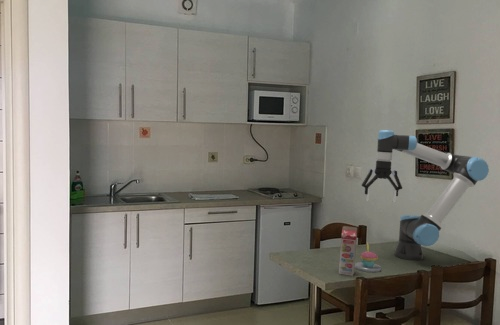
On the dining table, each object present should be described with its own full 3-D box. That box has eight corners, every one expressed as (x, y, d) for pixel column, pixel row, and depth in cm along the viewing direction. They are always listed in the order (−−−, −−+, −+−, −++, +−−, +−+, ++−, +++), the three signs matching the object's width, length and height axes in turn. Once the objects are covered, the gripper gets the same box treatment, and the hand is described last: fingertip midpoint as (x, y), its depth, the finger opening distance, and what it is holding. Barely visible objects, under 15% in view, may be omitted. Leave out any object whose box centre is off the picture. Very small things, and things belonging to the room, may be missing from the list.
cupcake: (355, 263, 229) (357, 240, 228) (369, 262, 232) (371, 239, 231) (366, 269, 221) (368, 244, 220) (380, 268, 224) (382, 243, 224)
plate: (377, 265, 233) (377, 262, 233) (384, 273, 220) (384, 270, 220) (351, 263, 233) (351, 261, 233) (356, 271, 220) (357, 269, 220)
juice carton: (340, 269, 221) (343, 224, 220) (354, 271, 220) (357, 226, 218) (338, 273, 215) (342, 227, 214) (353, 275, 213) (356, 229, 212)
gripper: (406, 161, 238) (402, 202, 240) (357, 158, 239) (354, 199, 240) (410, 162, 231) (407, 204, 232) (360, 159, 231) (357, 201, 233)
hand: (380, 201), depth 236 cm, fingers open, 13 cm apart
